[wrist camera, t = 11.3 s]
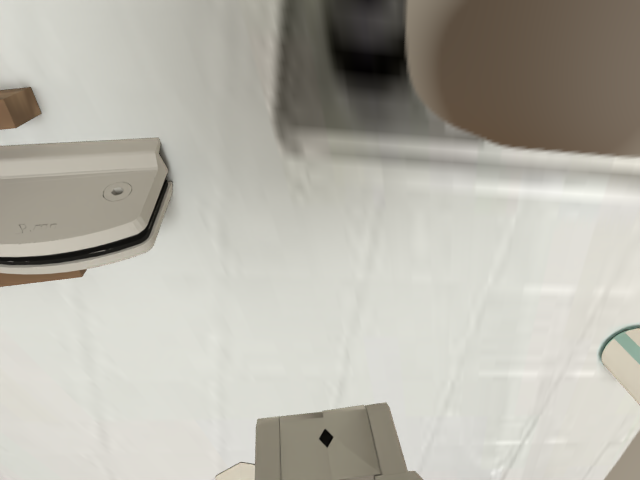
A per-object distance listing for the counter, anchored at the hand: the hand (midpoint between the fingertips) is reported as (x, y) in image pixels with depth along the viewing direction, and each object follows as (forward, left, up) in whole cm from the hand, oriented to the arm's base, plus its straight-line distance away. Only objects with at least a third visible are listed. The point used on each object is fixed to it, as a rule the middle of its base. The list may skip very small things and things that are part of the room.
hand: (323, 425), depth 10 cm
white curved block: (+5, -19, -31) cm, 36 cm away
